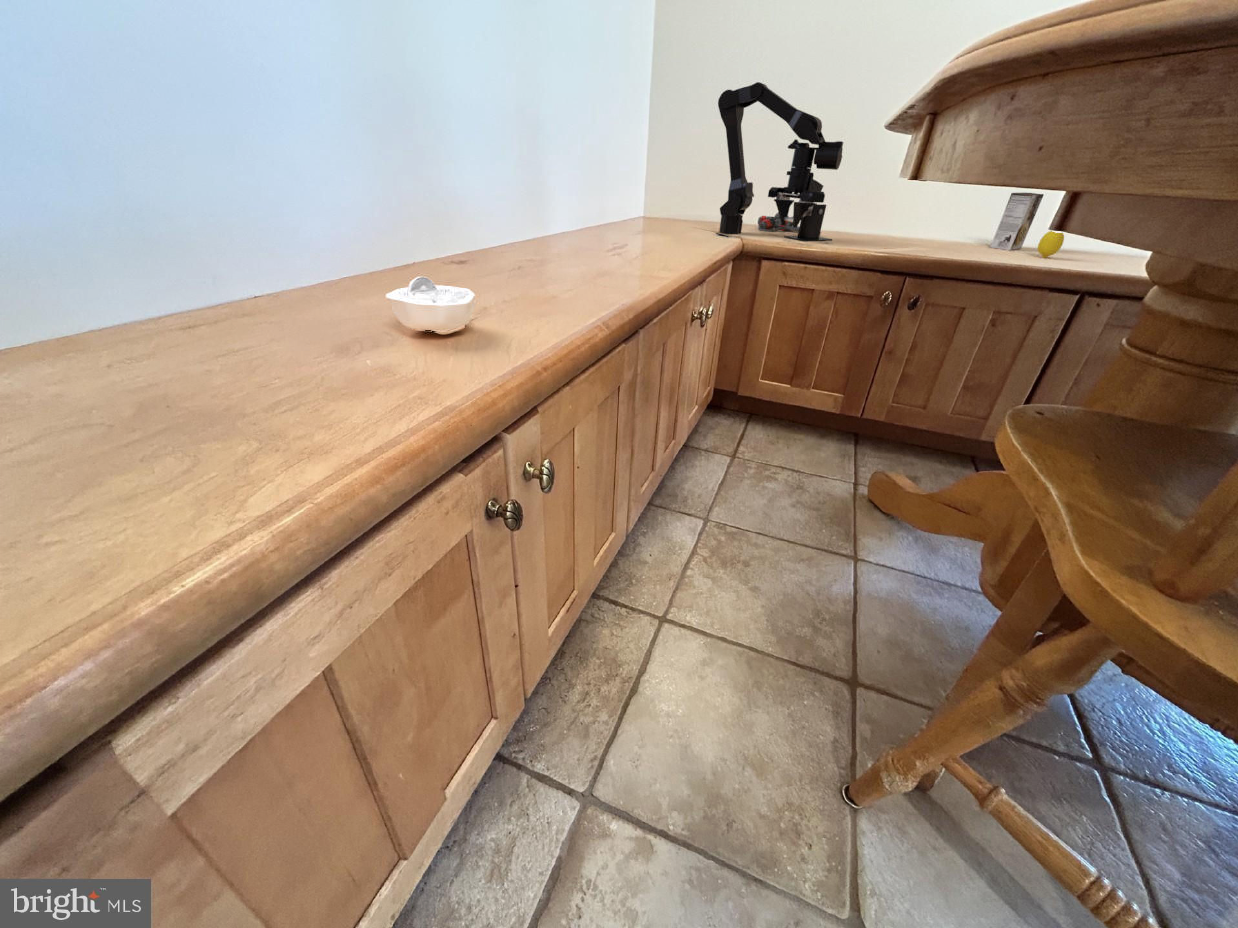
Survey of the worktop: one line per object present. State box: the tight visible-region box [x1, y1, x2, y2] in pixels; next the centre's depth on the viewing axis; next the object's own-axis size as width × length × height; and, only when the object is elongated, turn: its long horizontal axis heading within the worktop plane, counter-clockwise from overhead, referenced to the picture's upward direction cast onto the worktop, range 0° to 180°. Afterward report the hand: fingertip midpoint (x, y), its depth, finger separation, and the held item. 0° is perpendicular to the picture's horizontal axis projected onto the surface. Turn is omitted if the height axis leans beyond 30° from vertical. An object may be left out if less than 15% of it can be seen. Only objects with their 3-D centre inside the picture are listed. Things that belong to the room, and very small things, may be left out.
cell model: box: [385, 276, 476, 335], centre depth 65 cm, size 10×12×7 cm
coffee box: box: [989, 192, 1044, 251], centre depth 161 cm, size 9×6×16 cm
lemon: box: [1037, 230, 1065, 259], centre depth 147 cm, size 6×6×8 cm
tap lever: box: [784, 206, 813, 222], centre depth 154 cm, size 11×5×2 cm, turn 115°
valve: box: [757, 211, 822, 235], centre depth 175 cm, size 6×26×15 cm
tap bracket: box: [783, 202, 833, 243], centre depth 157 cm, size 12×9×11 cm
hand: (789, 226), depth 154 cm, fingers closed on tap lever, 5 cm apart
